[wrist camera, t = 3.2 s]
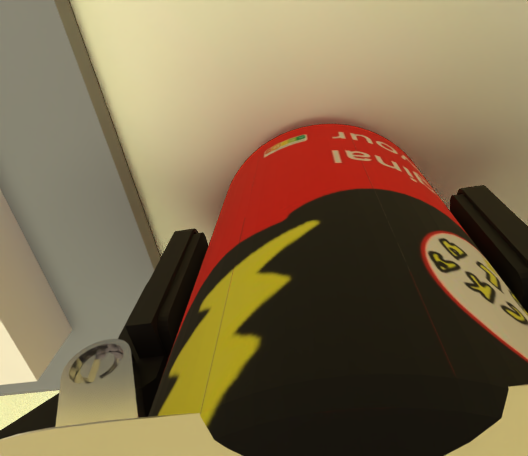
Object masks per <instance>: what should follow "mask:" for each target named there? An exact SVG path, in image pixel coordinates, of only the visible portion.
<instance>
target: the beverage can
mask: <svg viewBox="0 0 528 456" xmlns="http://www.w3.org/2000/svg"><path fill="white" fill-rule="evenodd" d="M525 384H528V313H527V312H526V311H525V309H524V308H523V307H522V305H521V304H520V303H519V302H518V300H517V299H516V298H515V296H514V295H513V294H512V292H511V291H510V290H509V288H508V287H507V286H506V284H505V283H504V282H503V280H502V279H501V278H500V276H499V275H498V274H497V273H496V271H495V270H494V269H493V267H492V266H491V265H490V263H489V262H488V261H487V259H486V258H485V257H484V255H483V254H482V253H481V251H480V250H479V249H478V247H477V246H476V245H475V244H474V242H473V241H472V240H471V238H470V237H469V236H468V234H467V233H466V232H465V230H464V229H463V228H462V226H461V225H460V224H459V222H458V221H457V220H456V218H455V217H454V216H453V215H452V213H451V212H450V211H449V209H448V208H447V207H446V205H445V204H444V203H443V201H442V200H441V199H440V197H439V196H438V195H437V193H436V192H435V191H434V189H433V188H432V187H431V185H430V184H429V183H428V182H427V180H426V179H425V178H424V176H423V175H422V174H421V172H420V171H419V170H418V168H417V167H416V166H415V164H414V163H413V162H412V160H411V159H410V158H409V157H408V156H407V155H406V154H405V153H404V152H403V151H402V150H401V149H400V148H399V147H397V146H396V145H395V144H393V143H392V142H390V141H389V140H387V139H386V138H384V137H382V136H380V135H378V134H376V133H373V132H371V131H369V130H365V129H362V128H359V127H354V126H349V125H341V124H319V125H311V126H306V127H301V128H298V129H295V130H292V131H289V132H286V133H284V134H282V135H279V136H278V137H276V138H274V139H272V140H270V141H269V142H267V143H266V144H264V145H263V146H261V147H260V148H259V149H258V150H256V151H255V152H254V153H253V154H252V155H251V156H250V157H249V158H248V159H247V160H246V161H245V162H244V164H243V165H242V166H241V167H240V169H239V170H238V172H237V173H236V175H235V177H234V178H233V180H232V182H231V184H230V187H229V190H228V192H227V195H226V198H225V201H224V203H223V206H222V209H221V212H220V215H219V218H218V220H217V223H216V226H215V229H214V232H213V234H212V237H211V240H210V243H209V246H208V249H207V251H206V254H205V257H204V260H203V263H202V266H201V268H200V271H199V274H198V277H197V280H196V283H195V285H194V288H193V291H192V294H191V297H190V300H189V302H188V305H187V308H186V311H185V314H184V317H183V319H182V322H181V325H180V328H179V331H178V333H177V336H176V339H175V342H174V345H173V348H172V350H171V353H170V356H169V359H168V362H167V365H166V367H165V370H164V373H163V376H162V379H161V382H160V384H159V387H158V390H157V393H156V396H155V399H154V401H153V404H152V407H151V410H150V413H149V416H148V417H151V416H162V415H173V414H187V413H200V416H201V418H202V420H203V422H204V423H205V425H206V427H207V428H208V430H209V432H210V434H211V435H212V437H213V439H214V440H215V441H217V442H218V443H220V444H221V445H223V446H224V447H226V448H227V449H229V450H232V451H234V452H236V453H238V454H240V455H242V456H445V455H447V454H449V453H450V452H452V451H454V450H456V449H458V448H460V447H462V446H464V445H466V444H468V443H470V442H471V441H472V440H474V439H475V438H476V437H478V436H479V435H480V434H482V433H483V432H484V431H486V430H487V429H488V428H490V427H491V426H492V425H494V424H495V423H496V422H498V421H499V420H500V419H501V418H502V415H503V411H504V407H505V403H506V399H507V395H508V391H509V388H508V387H510V386H518V385H525Z"/></svg>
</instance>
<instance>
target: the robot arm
mask: <svg viewBox="0 0 528 456" xmlns="http://www.w3.org/2000/svg"><path fill="white" fill-rule="evenodd" d="M450 212H451V213H452V215H453V216H454V217H455V218H456V220H457V221H458V222H459V224H460V225H461V226H462V228H463V229H464V230H465V232H466V233H467V234H468V236H469V237H470V238H471V240H472V241H473V242H474V244H475V245H476V246H477V247H478V249H479V250H480V251H481V253H482V254H483V255H484V257H485V258H486V259H487V261H488V262H489V263H490V265H491V266H492V267H493V269H494V270H495V271H496V273H497V274H498V275H499V276H500V278H501V279H502V280H503V282H504V283H505V284H506V286H507V287H508V288H509V290H510V291H511V292H512V294H513V295H514V296H515V298H516V299H517V300H518V302H519V303H520V304H521V305H522V307H523V308H524V309H525V311H526V312H527V313H528V226H527V225H526V224H525V223H524V222H523V221H521V220H520V219H519V218H518V217H517V216H516V215H515V214H514V213H513V212H512V211H511V210H510V209H509V208H508V207H507V206H506V205H505V204H503V203H502V202H501V201H500V200H499V199H498V198H497V197H496V196H495V195H494V194H493V193H492V192H491V191H490V190H489V189H488V188H487V187H486V186H484V185H481V186H474V187H468V188H461V189H459V190H458V193H457V195H452V196H451V199H450ZM207 249H208V243H207V240H206V237H205V234H204V233H198V231H197V230H196V229H188V230H182V231H175V232H174V234H173V236H172V238H171V240H170V241H169V243H168V245H167V247H166V249H165V251H164V253H163V255H162V257H161V259H160V261H159V262H158V264H157V266H156V268H155V270H154V272H153V274H152V276H151V278H150V280H149V282H148V283H147V284H146V286H145V288H144V290H143V292H142V293H141V295H140V297H139V299H138V301H137V303H136V305H135V307H134V309H133V311H132V312H131V314H130V316H129V318H128V320H127V322H126V324H125V326H124V328H123V330H122V331H121V333H120V335H119V337H118V339H106V340H102V341H99V342H96V343H94V344H92V345H89V346H87V347H86V348H84V349H83V350H81V351H80V352H78V353H77V354H76V355H75V356H74V357H73V358H72V359H70V360H69V362H68V363H67V365H66V366H65V367H64V369H63V372H62V375H61V383H60V391H59V393H58V394H57V395H55V396H54V397H52V398H51V399H49V400H47V401H46V402H44V403H43V404H41V405H40V406H38V407H36V408H35V409H33V410H32V411H30V412H29V413H27V414H26V415H24V416H22V417H21V418H19V419H18V420H16V421H15V422H13V423H11V424H10V425H8V426H7V427H5V428H4V429H2V430H0V456H242V455H240V454H238V453H236V452H234V451H232V450H229V449H227V448H226V447H224V446H223V445H221V444H220V443H218V442H217V441H215V440H214V439H213V437H212V435H211V434H210V432H209V430H208V428H207V427H206V425H205V423H204V422H203V420H202V418H201V416H200V413H187V414H173V415H162V416H151V417H148V416H149V413H150V410H151V407H152V404H153V401H154V399H155V396H156V393H157V390H158V387H159V384H160V382H161V379H162V376H163V373H164V370H165V367H166V365H167V362H168V359H169V356H170V353H171V350H172V348H173V345H174V342H175V339H176V336H177V333H178V331H179V328H180V325H181V322H182V319H183V317H184V314H185V311H186V308H187V305H188V302H189V300H190V297H191V294H192V291H193V288H194V285H195V283H196V280H197V277H198V274H199V271H200V268H201V266H202V263H203V260H204V257H205V254H206V251H207ZM508 388H509V391H508V395H507V399H506V403H505V407H504V411H503V415H502V418H501V419H500V420H499V421H498V422H496V423H495V424H494V425H492V426H491V427H490V428H488V429H487V430H486V431H484V432H483V433H482V434H480V435H479V436H478V437H476V438H475V439H474V440H472V441H471V442H470V443H468V444H466V445H464V446H462V447H460V448H458V449H456V450H454V451H452V452H450V453H449V454H447V455H445V456H528V384H525V385H518V386H510V387H508Z"/></svg>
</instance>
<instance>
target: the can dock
mask: <svg viewBox="0 0 528 456" xmlns="http://www.w3.org/2000/svg"><path fill="white" fill-rule="evenodd" d="M160 259H161V258H160V255H159V252H158V249H157V247H156V244H155V241H154V238H153V235H152V233H151V230H150V227H149V224H148V221H147V219H146V216H145V213H144V210H143V207H142V205H141V202H140V199H139V196H138V193H137V191H136V188H135V185H134V182H133V179H132V177H131V174H130V171H129V168H128V165H127V163H126V160H125V157H124V154H123V151H122V149H121V146H120V143H119V140H118V138H117V135H116V132H115V129H114V126H113V124H112V121H111V118H110V115H109V112H108V110H107V107H106V104H105V101H104V98H103V96H102V93H101V90H100V87H99V84H98V82H97V79H96V76H95V73H94V70H93V68H92V65H91V62H90V59H89V56H88V54H87V51H86V48H85V45H84V42H83V40H82V37H81V34H80V31H79V28H78V26H77V23H76V20H75V17H74V14H73V12H72V9H71V6H70V3H69V0H0V396H4V395H14V394H24V393H34V392H44V391H54V390H60V383H61V375H62V372H63V369H64V367H65V366H66V365H67V363H68V362H69V360H70V359H72V358H73V357H74V356H75V355H76V354H77V353H78V352H80V351H81V350H83V349H84V348H86V347H87V346H89V345H92V344H94V343H96V342H99V341H102V340H106V339H118V337H119V335H120V333H121V331H122V330H123V328H124V326H125V324H126V322H127V320H128V318H129V316H130V314H131V312H132V311H133V309H134V307H135V305H136V303H137V301H138V299H139V297H140V295H141V293H142V292H143V290H144V288H145V286H146V284H147V283H148V282H149V280H150V278H151V276H152V274H153V272H154V270H155V268H156V266H157V264H158V262H159V261H160Z"/></svg>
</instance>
